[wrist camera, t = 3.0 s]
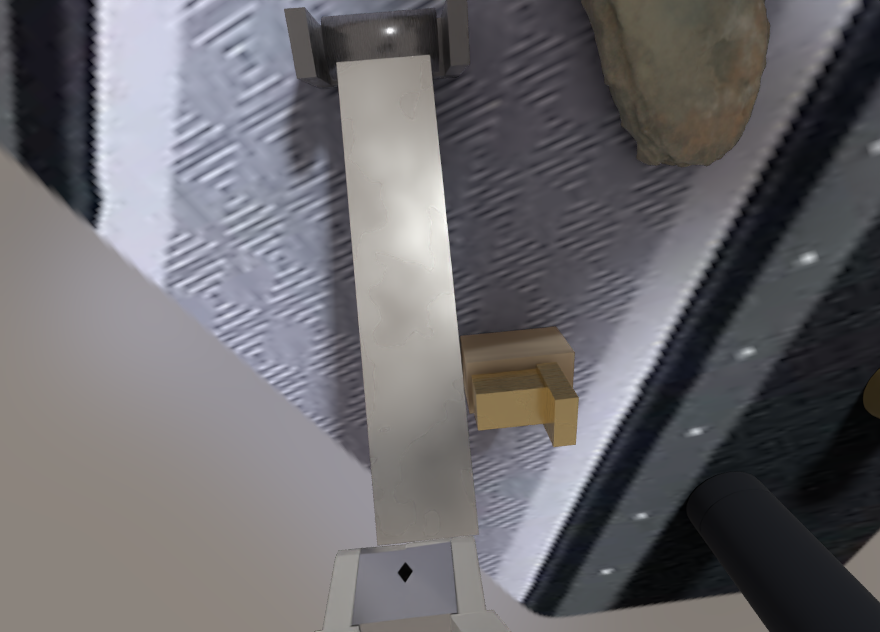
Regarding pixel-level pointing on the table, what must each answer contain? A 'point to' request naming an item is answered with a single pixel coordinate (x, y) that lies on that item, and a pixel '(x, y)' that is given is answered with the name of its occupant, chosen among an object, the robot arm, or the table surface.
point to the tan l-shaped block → (527, 401)
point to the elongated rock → (682, 72)
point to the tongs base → (313, 58)
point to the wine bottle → (778, 560)
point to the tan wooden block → (513, 353)
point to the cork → (873, 395)
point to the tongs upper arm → (403, 274)
